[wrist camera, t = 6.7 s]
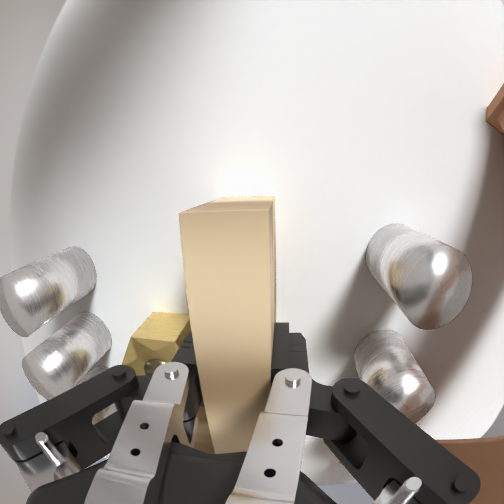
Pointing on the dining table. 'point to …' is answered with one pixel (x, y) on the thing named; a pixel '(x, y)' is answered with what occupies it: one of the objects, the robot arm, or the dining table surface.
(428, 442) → the robot arm
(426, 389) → the spacers
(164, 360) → the nut
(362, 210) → the dining table surface
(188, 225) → the wooden l-bracket
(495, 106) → the tan tall stepped post
